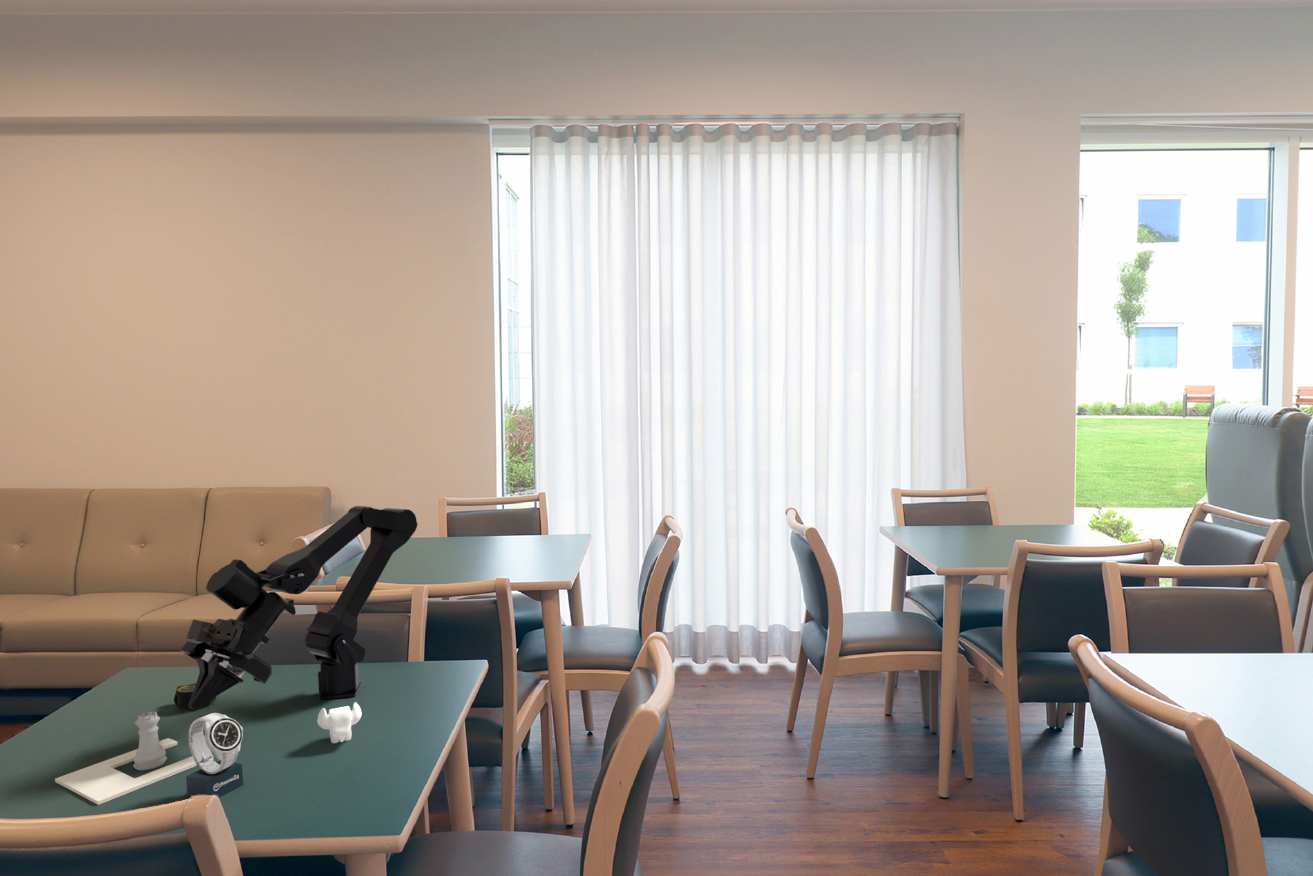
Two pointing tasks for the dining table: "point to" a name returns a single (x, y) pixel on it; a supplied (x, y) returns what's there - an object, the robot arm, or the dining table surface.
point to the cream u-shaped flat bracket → (118, 776)
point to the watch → (225, 745)
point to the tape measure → (186, 696)
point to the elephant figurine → (339, 721)
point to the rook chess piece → (148, 743)
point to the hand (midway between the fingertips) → (191, 708)
